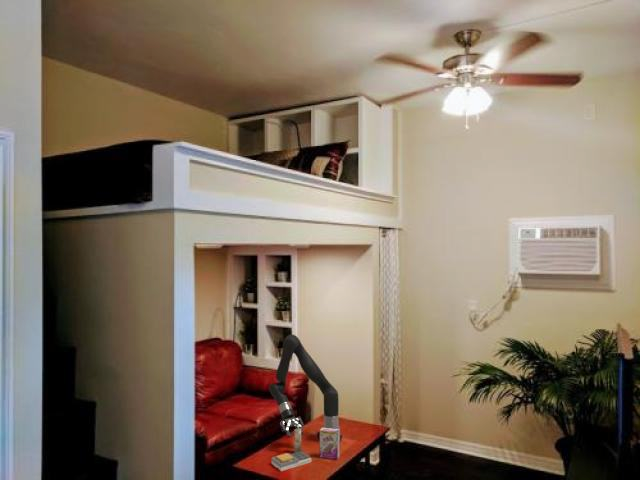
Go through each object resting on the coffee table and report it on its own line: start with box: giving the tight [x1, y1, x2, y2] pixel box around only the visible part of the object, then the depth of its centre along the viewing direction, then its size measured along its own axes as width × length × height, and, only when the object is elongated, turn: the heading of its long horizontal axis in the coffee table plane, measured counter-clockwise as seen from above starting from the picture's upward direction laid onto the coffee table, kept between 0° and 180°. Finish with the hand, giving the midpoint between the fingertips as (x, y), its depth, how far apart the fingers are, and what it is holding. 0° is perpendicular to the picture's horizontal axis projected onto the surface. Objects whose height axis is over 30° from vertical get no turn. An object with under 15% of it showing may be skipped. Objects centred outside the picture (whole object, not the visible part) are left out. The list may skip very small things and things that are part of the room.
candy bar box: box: [319, 427, 340, 461], centre depth 289 cm, size 11×5×16 cm, turn 74°
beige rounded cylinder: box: [292, 427, 303, 454], centre depth 296 cm, size 6×6×14 cm
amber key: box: [275, 452, 293, 463], centre depth 280 cm, size 7×7×1 cm
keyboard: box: [271, 450, 312, 472], centre depth 282 cm, size 20×11×4 cm, turn 124°
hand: (295, 435), depth 297 cm, fingers open, 8 cm apart
